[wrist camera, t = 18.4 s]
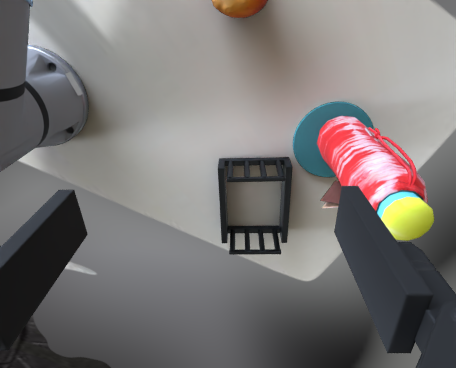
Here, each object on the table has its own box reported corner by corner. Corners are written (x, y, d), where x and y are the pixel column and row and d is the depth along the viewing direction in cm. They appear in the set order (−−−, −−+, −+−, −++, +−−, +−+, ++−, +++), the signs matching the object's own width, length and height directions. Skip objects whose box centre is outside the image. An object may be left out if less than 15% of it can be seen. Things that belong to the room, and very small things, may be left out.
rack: (222, 230, 62) (221, 255, 55) (219, 158, 54) (216, 177, 48) (284, 229, 61) (289, 255, 55) (288, 157, 54) (295, 176, 47)
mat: (290, 176, 56) (291, 177, 55) (295, 102, 49) (296, 103, 49) (365, 175, 55) (366, 176, 55) (379, 100, 49) (381, 101, 48)
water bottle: (336, 180, 55) (401, 290, 33) (295, 165, 54) (334, 269, 32) (375, 117, 50) (484, 200, 28) (330, 99, 48) (406, 170, 26)
